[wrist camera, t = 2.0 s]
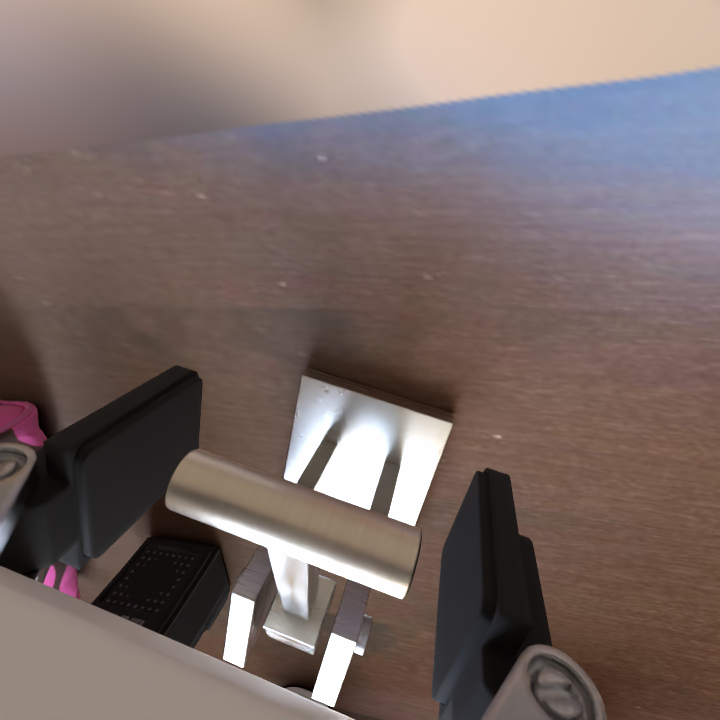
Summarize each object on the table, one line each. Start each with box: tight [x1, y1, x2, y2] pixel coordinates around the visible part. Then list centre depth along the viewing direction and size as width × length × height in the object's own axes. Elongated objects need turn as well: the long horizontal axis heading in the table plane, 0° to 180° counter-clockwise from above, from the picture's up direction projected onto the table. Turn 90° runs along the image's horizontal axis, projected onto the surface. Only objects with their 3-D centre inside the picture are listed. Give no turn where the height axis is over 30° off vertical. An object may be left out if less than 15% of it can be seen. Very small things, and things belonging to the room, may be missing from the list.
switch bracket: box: [223, 368, 454, 707], centre depth 21 cm, size 12×9×12 cm
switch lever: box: [165, 449, 422, 655], centre depth 13 cm, size 13×6×2 cm, turn 167°
